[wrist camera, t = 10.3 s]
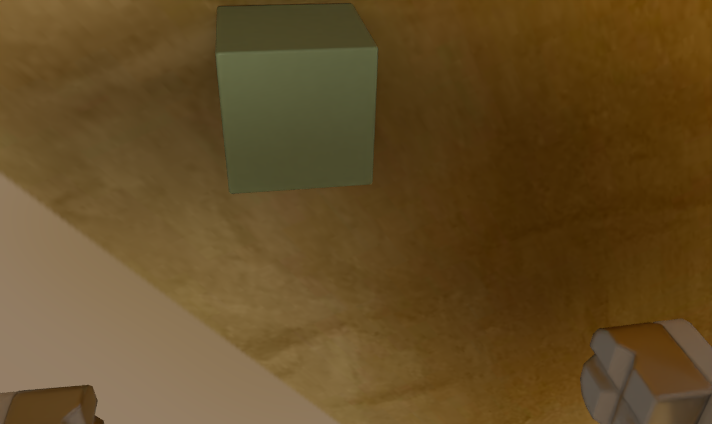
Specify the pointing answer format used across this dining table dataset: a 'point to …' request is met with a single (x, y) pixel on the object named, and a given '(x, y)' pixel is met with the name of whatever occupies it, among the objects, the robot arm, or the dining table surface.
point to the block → (296, 96)
